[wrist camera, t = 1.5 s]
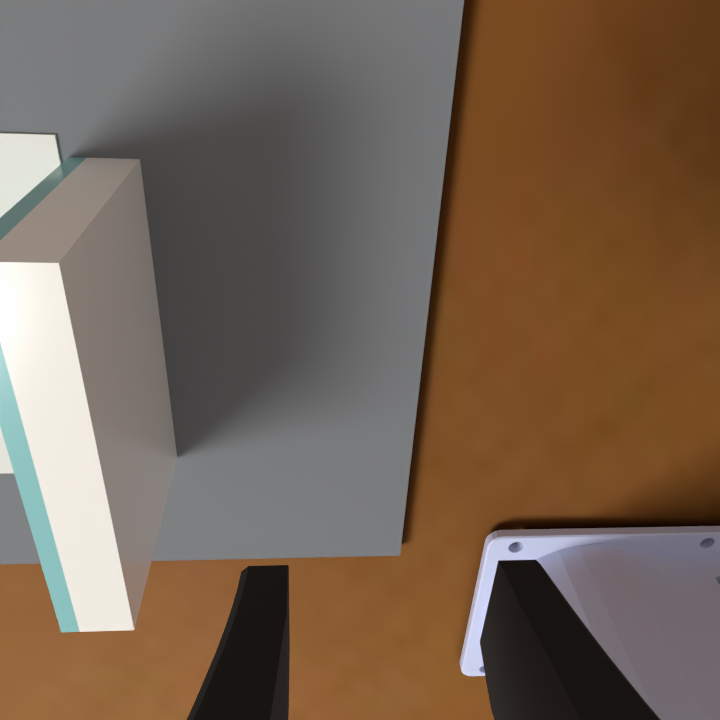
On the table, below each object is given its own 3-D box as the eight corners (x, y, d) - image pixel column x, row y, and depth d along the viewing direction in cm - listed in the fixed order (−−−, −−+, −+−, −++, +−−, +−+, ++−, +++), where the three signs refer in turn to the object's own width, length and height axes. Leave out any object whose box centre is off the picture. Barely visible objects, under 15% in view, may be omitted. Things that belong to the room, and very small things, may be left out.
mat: (465, -51, 14) (470, -51, 14) (398, 546, 23) (400, 556, 23) (-359, -99, 13) (-380, -101, 12) (-77, 556, 22) (-84, 567, 22)
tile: (139, 159, 15) (58, 263, 10) (177, 457, 20) (134, 629, 15) (68, 157, 15) (-50, 261, 10) (123, 457, 20) (61, 632, 15)
